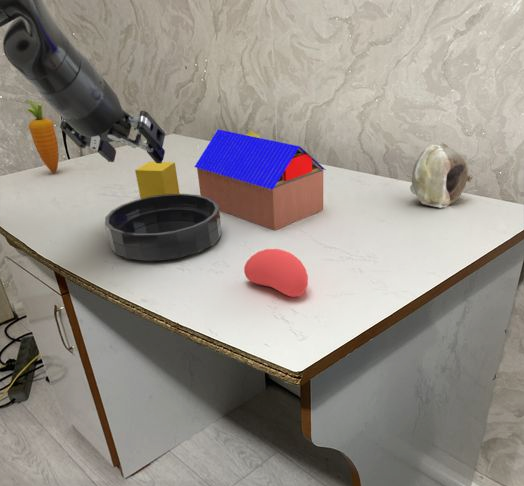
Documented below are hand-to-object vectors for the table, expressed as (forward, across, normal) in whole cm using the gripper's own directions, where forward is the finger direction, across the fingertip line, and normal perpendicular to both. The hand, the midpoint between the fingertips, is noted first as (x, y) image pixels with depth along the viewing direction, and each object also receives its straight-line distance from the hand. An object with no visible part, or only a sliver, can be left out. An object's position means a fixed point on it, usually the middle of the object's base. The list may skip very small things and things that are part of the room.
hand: (136, 157), depth 85 cm
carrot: (+25, +36, -9) cm, 45 cm away
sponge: (+11, 0, +4) cm, 12 cm away
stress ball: (-5, -28, +21) cm, 35 cm away
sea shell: (+19, -46, -4) cm, 50 cm away
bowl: (+3, -7, +12) cm, 14 cm away
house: (+15, -17, +1) cm, 22 cm away
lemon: (+29, -9, -13) cm, 33 cm away
